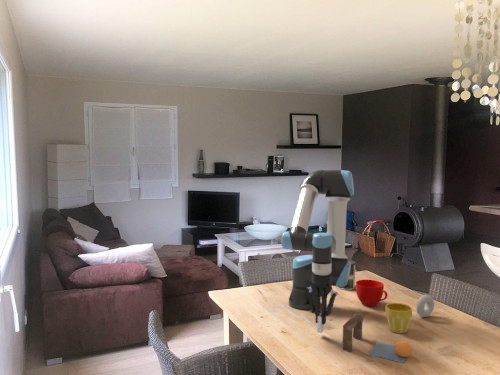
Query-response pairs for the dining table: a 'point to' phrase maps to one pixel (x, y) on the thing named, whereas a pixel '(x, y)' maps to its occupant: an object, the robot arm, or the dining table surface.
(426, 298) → the donut
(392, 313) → the plant pot
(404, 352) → the ball
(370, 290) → the ceramic cup
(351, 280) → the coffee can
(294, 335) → the dining table surface
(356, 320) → the bridge
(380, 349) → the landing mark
